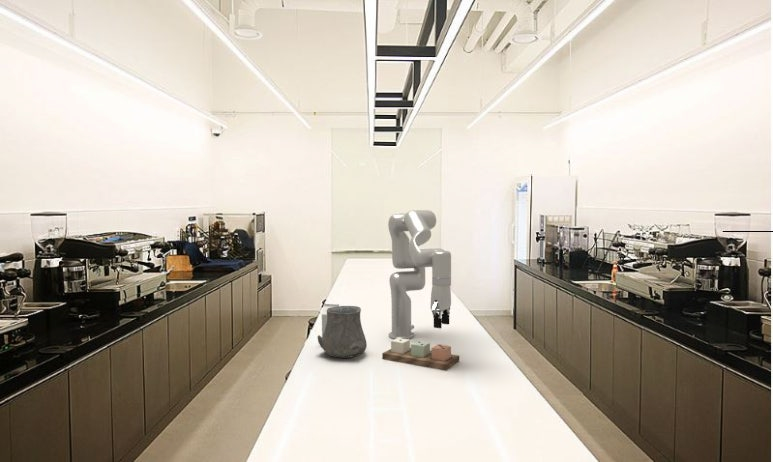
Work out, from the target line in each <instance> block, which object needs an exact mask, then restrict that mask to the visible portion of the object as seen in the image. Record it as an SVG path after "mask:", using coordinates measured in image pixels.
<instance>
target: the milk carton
mask: <svg viewBox="0 0 773 462" xmlns="http://www.w3.org/2000/svg"><path fill="white" fill-rule="evenodd" d="M337 306H340V304H338V303H334V304H333V303H324V304H323V309H322V312H321V337H322V336H323V334H324V331H325V327H326V323H327V309H328V308H331V307H337Z"/></svg>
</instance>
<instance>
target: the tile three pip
mask: <svg viewBox="0 0 773 462" xmlns="http://www.w3.org/2000/svg"><path fill="white" fill-rule="evenodd" d="M431 351H432V359H435V360H440V361H446V360H448V359H450V358H451V354H452V346H451V345H446V344H436V345H434V346H432V347H431Z"/></svg>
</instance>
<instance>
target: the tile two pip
mask: <svg viewBox="0 0 773 462" xmlns="http://www.w3.org/2000/svg"><path fill="white" fill-rule="evenodd" d="M410 348H411V355H412V356H417V357H423V358H424V357H426V356H427V355H429V354H430V351H431V342H426V341H421V340H416V341H415V342H412V343H410Z"/></svg>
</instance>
